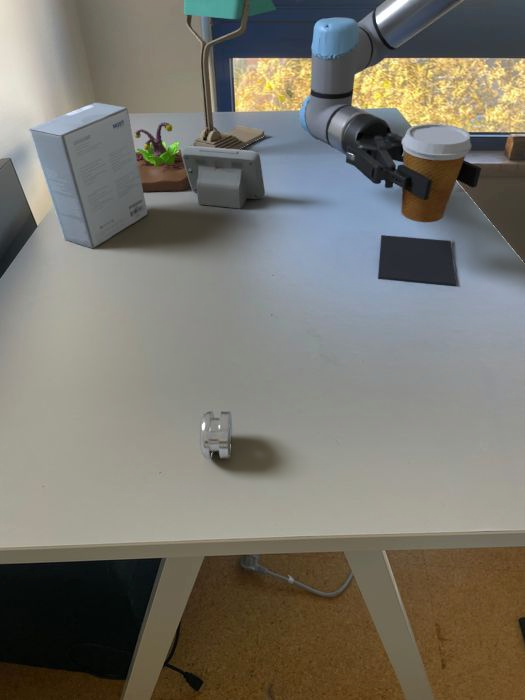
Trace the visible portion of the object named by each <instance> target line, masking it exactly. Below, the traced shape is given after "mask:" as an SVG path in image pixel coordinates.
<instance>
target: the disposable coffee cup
mask: <svg viewBox="0 0 525 700" xmlns="http://www.w3.org/2000/svg"><path fill="white" fill-rule="evenodd" d="M402 137H403V139H402V145H403V149H404V151H403V155H404V158H403V162H402V165H404V166H406V167H408V168H410V169H412V170H414V171H416V172H417V173H419V174H421V175H423V176H425V177H427V178H429V179H431V180H432V184H431V189H430V193H429V198H428V199H427V200H423V199H421V198H419V197H418V196H416V195H414V194H412V193H411V192H409V191H407V190H406V189H404V188H402V187H401V214H402V216H403V217H405V219H408V220H410V221H413V222H418V223H435V222H438V221H441V220H442V219H443V218H444V215H445V213H446V210H447V207H448V204H449V202H450V199H451V196H452V193H453V191H454V187H455V185H456V183H457V181H458V180H457V177H458V174H459V172H460V169H461V166H462V164H463V161H464V160H465V158H466V156H467V155H468V153H469V151H471V149H472V142H471V135H470V133H469V132H468V131H467V130H465V129H463V128H460V127H458V126H455V125H450V124H443V123H423V124H417V125H413V126H411V127H409V128H408V129H407V130H406V132H405V135H404V136H402Z"/></svg>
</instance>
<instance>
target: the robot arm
mask: <svg viewBox="0 0 525 700" xmlns="http://www.w3.org/2000/svg"><path fill="white" fill-rule="evenodd" d="M463 1H465V0H384V1H383V2H382V3H381V4H379V5H378V6H377V7H376V8H375V9H374V10H372V11H371V12H370V13H368V14H367V15H366V16H365V17H363V18H362V19H361V20H360V21H358V22H357V20H355V19H353V18H349V17H329V18H321V19H319V20H317V21H316V23H315V24H314V26H313V35H312V43H311V46H310V47H311V64H310V65H311V67H310V71H311V72H310V92H309V94H308V95H307V96H306V98H304V100H303V102H302V104H301V107H300V108H299V113H298V118H299V123H300V125H301V127H302V128H303V130H304V131H305V132H306V133H308V134H309V135H310V136H311V137H312V138H313V139H315V140H317V141H319V142H322V143H324V144H326V145H328V146H330V147H331V148H332V149H334V150H337V151H338V152H340V153H341V154H343V155H345V163H347V164H348V165H351V166H353V167H355V168H356V169H357V170H358V171H359V172H360V173H361V174H362V175H364V177H366V178H367V179H368V180H369V181H371V182H372V183H373V184H375V185H378V184H381V183H382V181H384V188H387V189H392V188H394V185H396V186H398V187H400V188H401V189H402V188H404V189H406V190H407V191H409V192H411V193H412V194H414V195H416V196H418V197H419V198H421V199H423V200H427V199H428V198H429V193H430V189H431V184H432V180H431V179H429V178H427V177H425V176H423V175H421V174H419V173H417V172H416V171H414V170H412V169H410V168H408V167H406V166H404V165H403V164H397V165H396V163H395V162H400V163H403V158H404V149H403V145H402V139H403V137H404V136H402V135H399V134H398V133H394V132H392V130H391V128H390V126H389V124H388V122H387V121H386V120H385V119H382V118H381V117H378V116H376V115H374V114H371V113H370V112H369V111H366V110H364V109H361V108H359V107H356V106H354V105H353V94H354V87H355V75H357V74H359V73H361V72H363V71H365V70H366V69H368V68H370V67H375V66H376V65H378V64H379V63H381V62H382V61H384V60H385V58H387V56H388V55H389V54H392V53H393V52H394V51H396V50H397V48H399V47H400V46H402V45H403V44H405V43H406V42H408V41H409V40H410V39H412V38H413V37H415V36H416V35H417V34H419V33H420V32H421V31H423V30H424V29H426V28H427V27H429V26H430V25H431V24H433V23H434V22H436V21H437V20H438V19H440V18H441V17H443V16H444V15H445V14H447V13H448V12H450V11H451V10H453V9H455V7H457V6H458V5H460V4H461V3H462V2H463ZM481 171H482V167H479V166H477V165H475V164H473V163H471V162H469V161H466V160H465V159H464V161H463V164H462V166H461V169H460V172H459V174H458V177H457V180H456V181H458V182H460V183H462V184H464V185H466V186H468V187H470V188H476V187H477V186H478V182H479V179H480V174H481Z"/></svg>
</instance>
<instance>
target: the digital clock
mask: <svg viewBox="0 0 525 700" xmlns="http://www.w3.org/2000/svg"><path fill="white" fill-rule="evenodd" d="M180 150H181V155H182V159H183V162H184V165H185V169H186V172H187V175H188V179H189V182H190V186H189V187H190V188H191V191H192V192H193V193H196V194H197V202H198V205H200V206H201V205H202V206H211V207H221V208H231V209H241V208H242V207H243V205H244V204H245V202H246V201H247V199H251V200H259V199H262V198H264V196H265V193H266V191H265V184H264V176H263V169H262V162H261V161H262V160H261V157H260V156H261V155H260V154H259V153H258V152H257V151H255V150H248V149H241V150H237V149H225V148H212V147H199V146H192V145H187V146H182V147H181V149H180Z"/></svg>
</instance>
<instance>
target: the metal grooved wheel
mask: <svg viewBox="0 0 525 700" xmlns="http://www.w3.org/2000/svg"><path fill="white" fill-rule="evenodd" d="M231 434H232V435H233V417H232V412H231V411H230V410H229V411H226V410H225V411H222V410H221V411H220V414H219V417H215V414H214V412H213V411H212V410H211V411H210V410H209V411H205V412H204V413H203V414H202V417H201V420H200V425H199V448H200V449H199V450H200V454H201V455H202V457H203V458H205V459H212V458H211V453H212V452H213V453H216V452H217V453H218V454H219V458H220V459H222V458H227V460H229V459H230V458H229V455H230V444H231ZM230 456H231V455H230Z"/></svg>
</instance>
